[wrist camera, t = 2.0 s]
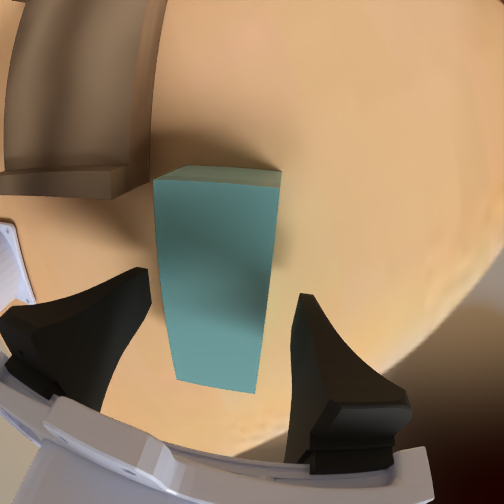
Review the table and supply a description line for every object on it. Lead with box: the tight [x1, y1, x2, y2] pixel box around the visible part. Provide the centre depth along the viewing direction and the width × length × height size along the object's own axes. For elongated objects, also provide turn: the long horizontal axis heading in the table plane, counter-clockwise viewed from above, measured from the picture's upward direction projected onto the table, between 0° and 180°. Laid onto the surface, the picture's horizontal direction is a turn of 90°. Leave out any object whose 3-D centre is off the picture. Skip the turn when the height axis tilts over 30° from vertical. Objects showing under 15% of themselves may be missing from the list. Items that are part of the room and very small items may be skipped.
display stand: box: [0, 0, 167, 200], centre depth 8 cm, size 11×15×4 cm
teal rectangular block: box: [153, 165, 282, 394], centre depth 13 cm, size 4×11×4 cm, turn 176°
